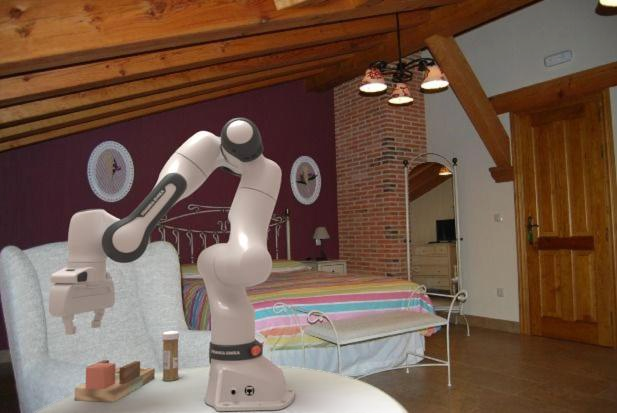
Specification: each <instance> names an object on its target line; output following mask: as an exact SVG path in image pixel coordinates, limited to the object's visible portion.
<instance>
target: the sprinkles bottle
mask: <svg viewBox="0 0 617 413" xmlns="http://www.w3.org/2000/svg"><path fill="white" fill-rule="evenodd" d="M179 336H180V333H179V331H177V330H169V331H163V333H162V380H163V381H165V382H173V381H176V380H178V379H179V339H180V337H179Z"/></svg>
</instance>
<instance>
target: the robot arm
mask: <svg viewBox="0 0 617 413" xmlns="http://www.w3.org/2000/svg"><path fill="white" fill-rule="evenodd" d="M262 140H263V139H262V136H261V133H260V131H259V129H258V127H257V125H256V124H255V123H254V122H253V121H252V120H250V119H248V118H245V117H236V118H232V119H230V120H229V121H227V122H226V123H225V125H224V126H223V127H222V129H221V133H220V136H217V135H215V134H214V133H212V132H210V131H206V130H200V131H198V132H196V133H194V134H193V135H192V136H190V137H189V138H188V139H187V140H186V141H185V142H183V143H182V145H181V146H180V147H178V148H177V149H176V150H175V152H174V153H172V155H171V156H170V157H169V159H168V160H167V161H166V163H165V164H164V166H163V167H162V169H161V171H160V173H159V176H158V179H157V181H156V183H155V185H154V187H153V188H152V190H151V191H150V192H149V193H148V194H147V195H146V196H145V198H144V199H142V201H141V202H140V204H138V205H137V207H136V208H135V209H134V210H133V211H132V212H131V213H130V214H129V215H127V216H126V217H123V218H122V219H120V218H119V217H118V218H117V217H116V216H114V215H112V214H111V213H108V212H107V211H106V210H105V209H103V208H89V209H83V210H80V211H77V212H75V213H74V214H73V215H72V217H71V218H70V223H69V227H68V233H67V234H68V235H67V237H68V238H67V247H68V257H67V260H66V266H64V267H63V268H62V269H60V270H58V271H57V270H56V272H55V271H54V273H52V274H51V275H50V283H51V284H53V285H52V286H50V291H49V298H48V299H49V300H48V312H49V314H50V316H51V317H52V318H53V317H54V318H61V321H62V324H63V325H64V327H65V330H64V333H65V335H66V336H72V335H75V334H76V333H77V326H76V325H74V322H73V320H74V319H75V316H76V315H80V314H85V313H90V312H93V314H94V317H93V320H91V321H90V323H91V325H90V328H92V329H98V328H101V327H102V319H103V317H104V315H105V311H106V310H105V309H110V308H113V307H114V305H115V302H116V295H115V290H116V288H115V283H114V281H113V277H112V276H111V274H110V273H109V272H107V259H110V260H111V261H113V262H116V263H119V264H128V263H133V262H135V261H137V260H138V259H140V258H141V257H142V256H143V255H144V253H145V252H146V250H147V248H148V244H149V240H150V237H151V234H152V232H153V230H154V229H156V227H157V226H158V224H159V223H160V222H161V220H163V218H164V217H165V216H166V215H167V213H168V212H169V211H170V209H172V208H173V206H175V205H176V204H177V203H178V202H180V201H182V200H184V199H185V198H187V197H189V196H191V195H192V194H193V193H194V192H195V191H196V190H198V189H199V188H200V187H201V186H202V185H203V184H204V182H206V180H207V179H208V178H209V176H210V175H211V174H212V173H213V172H214V171H215V170H216V169H217V168H220V170H221V171H223V172H226V173H230V174H232V175H234V176H236V177H238V178H240V181H239V184H238V187H237V189H236V192H235V195H234V198H233V201H232V203H231V206H230V209H229V211H228V214H227V215H228V216H227V219H228V221H229V223H230V231H229V232H230V233H229V238H228V241H227V242H225V243H224V242H223V243H222V242H221V243H215V244H213V245H210V246H208V247H206V248H205V249H203V250H202V251H201V252H200V253H199V255H198V257H197V262H196V264H197V265H196V266H197V271H198V273H199V275H200V276H201V278H202V280H203V282H204V286H205V290H206V294H207V298H208V304H209V309H210V338H211V339H210V341H209V344H208V345H209V348H208V358H209V359H208V362H209V374H208V376H209V377H208V383H207V388H206V392H205V396H204V399H203V400H204V403H205V404H206V405H208V406H211V407H213V408H214V409H215V411H217V412H241V411H242V412H243V411H244V412H245V411H246V412H247V411H276V410H277V411H278V410H282V409H285V408H287V407H288V406H290V405H291V404H292V403H293V401H294V399H295V398H296V394H295V390H294V389H293V388H291V387H288V386H287V383H286V377H285V374H284V372H283V370H282V368H280V367H279V366H277V365H276V364H275V363H274V362H272V361H271V360H270V359H268V358H267V357H266V356H265V355H263V354H264V352H263V351H264V350H263V349H264V341H262V342H260V341H259V340H257V339H256V311H255V307H254V305H253V304H252V303H251V301H250V298H249V297H248V294H247V291H246V288H250V287H254V286H257V285H260V284H262V283H265V282H266V281H267V279H268V278H270V275H271V273H272V269H273V260H272V255H271V254H270V252H269V251H268V245H267V244H268V231H269V230H268V229H269V227H270V226H269V225H270V222H271V219H272V216H273V212H274V210H275V206H276V204H277V201H278V196H279V194H280V189H281V184H282V169H281V167H280V166H279V165H278V164H277V162H275V161H273V160H271V159H269V158H267V157H265V156H264V154H263V153H264V150H265V149H264V145H263V141H262Z"/></svg>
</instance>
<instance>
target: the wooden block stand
mask: <svg viewBox="0 0 617 413" xmlns="http://www.w3.org/2000/svg"><path fill="white" fill-rule="evenodd" d="M97 363H110V359H102V360H101V361H98V362H95V363H93V364H91V365H89V366H88V365H87V367H90V366H92V365H95V364H97ZM155 370H156V369H155V367H141V360H134V361H131V362H129V363H128V364H126V365H123V366H120V367H116V368H115V383H114V384H112V385H111V386H109V387H107V388H105V389H88V388H86V382H85V383H82V384H81V385H78V386H76V387H74V401H85V402H88V401H89V402H107V403H110V402H111V403H115V402H117V401H118V400H120V399H122V398H123V396H124V397H125V396H127V395H129V394H130V393H132V392H133V390H134V391H135V389H136V390H137V389H139V388H141V387H142V385H143V386H144V385H146V384H148V383H149V382H151V381H153V380H154V379H155V378H156V376H155ZM140 386H141V387H140ZM138 387H139V388H138ZM131 391H132V392H131ZM128 393H129V394H128Z"/></svg>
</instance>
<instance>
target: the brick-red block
mask: <svg viewBox="0 0 617 413" xmlns="http://www.w3.org/2000/svg"><path fill="white" fill-rule="evenodd" d="M96 363H97V364H96ZM96 363H94V364H95V365H93V364H91V365H92V366H91V365H89V366H90V367H88V366H86V368H85V383H86V388H88V389H105V388H107V387H109V386H111V385H112V384H114V383H115V369H116V368H117V367H116V363H110V362H109V363H98V362H96Z"/></svg>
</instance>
